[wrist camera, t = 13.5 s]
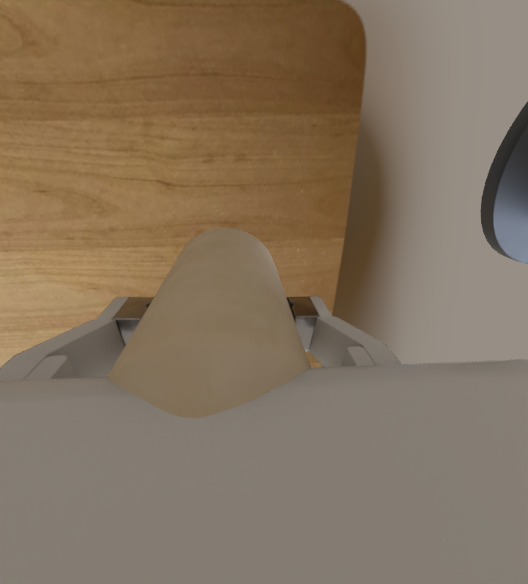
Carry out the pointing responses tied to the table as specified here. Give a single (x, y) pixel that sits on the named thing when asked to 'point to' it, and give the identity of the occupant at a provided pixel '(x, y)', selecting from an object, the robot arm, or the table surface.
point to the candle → (213, 330)
